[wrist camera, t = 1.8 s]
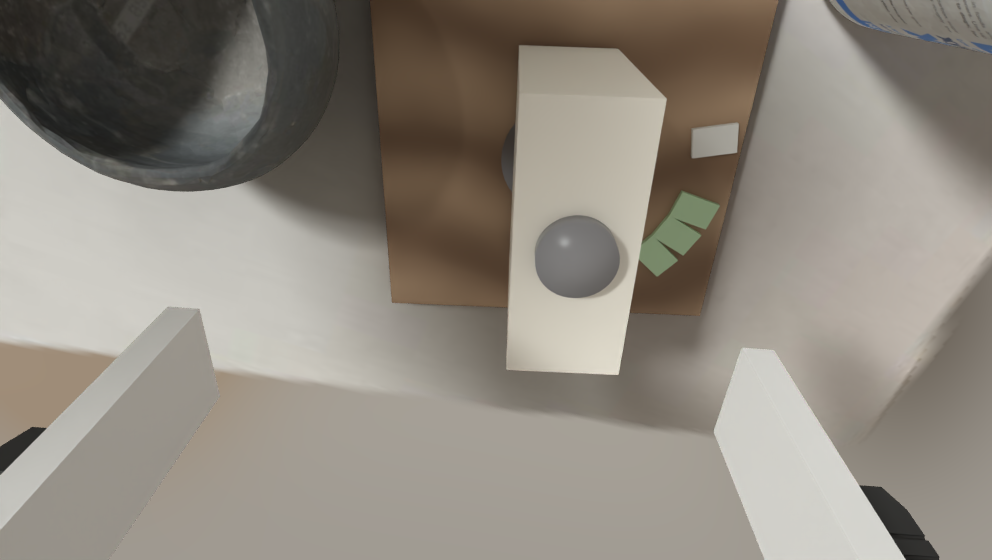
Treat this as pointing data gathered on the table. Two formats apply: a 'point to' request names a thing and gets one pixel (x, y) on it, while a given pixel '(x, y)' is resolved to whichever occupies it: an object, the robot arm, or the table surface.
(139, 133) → the bowl
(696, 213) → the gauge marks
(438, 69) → the board
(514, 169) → the white block with knob
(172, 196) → the table surface
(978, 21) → the supplement tub
